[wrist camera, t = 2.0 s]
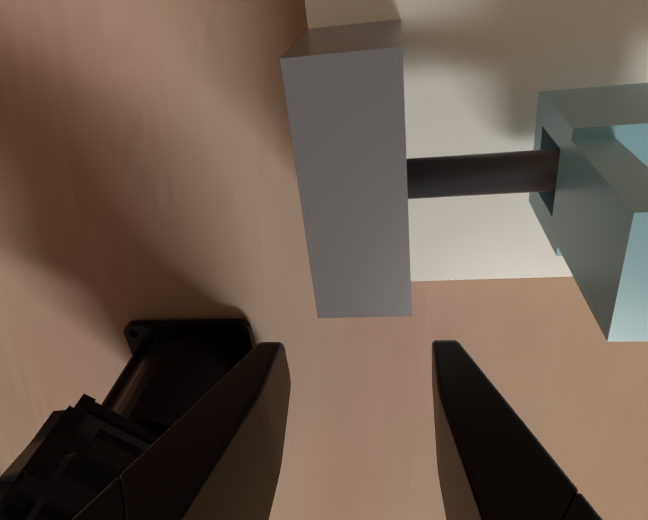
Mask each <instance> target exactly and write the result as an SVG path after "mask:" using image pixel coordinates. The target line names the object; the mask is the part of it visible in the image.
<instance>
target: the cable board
mask: <svg viewBox="0 0 648 520" xmlns="http://www.w3.org/2000/svg"><path fill="white" fill-rule="evenodd" d="M305 7H306V15H307V24H308V30H307V31H306V32H305V33H304V34H303V35H302V36H301V37H300V38H299V39H298V40H297V41H296V42H295V43H294V44H293V45H292V46H291V47H290V48H289V49H288V50H287V51H286V53H285V54H284V55H283V56H282V57H281V58H280V65H281V72H282V78H283V85H284V92H285V99H286V105H287V112H288V119H289V126H290V133H291V139H292V146H293V153H294V160H295V166H296V173H297V180H298V187H299V193H300V200H301V207H302V214H303V220H304V227H305V234H306V241H307V248H308V254H309V261H310V268H311V275H312V281H313V288H314V295H315V302H316V308H317V315H318V318H340V317H390V316H412V306H411V281H435V280H469V279H502V278H536V277H569V276H573V275H572V273H571V271H570V269H569V267H568V266H567V264H566V262H565V260H564V258H563V256H556V254H555V252H554V250H553V248H552V246H551V244H550V242H549V240H548V238H547V236H546V234H545V233H544V231H543V229H542V227H541V225H540V223H539V221H538V219H537V217H536V215H535V213H534V211H533V209H532V207H531V205H530V203H529V192H548V191H555V190H556V182H557V174H558V165H559V157H560V149H546V150H533V148H534V138H535V127H536V116H537V106H538V95H539V92H541V91H553V90H565V89H577V88H589V87H601V86H613V85H625V84H638V83H648V0H305Z"/></svg>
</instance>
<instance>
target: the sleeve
mask: <svg viewBox="0 0 648 520" xmlns="http://www.w3.org/2000/svg"><path fill="white" fill-rule="evenodd" d="M546 149H560V157H559V165H558V174H557V182H556V190H555V191H548V192H529V203H530V205H531V207H532V209H533V211H534V213H535V215H536V217H537V219H538V221H539V223H540V225H541V227H542V229H543V231H544V233H545V234H546V236H547V238H548V240H549V242H550V244H551V246H552V248H553V250H554V252H555V254H556V256H563V258H564V260H565V262H566V264H567V266H568V267H569V269H570V271H571V273H572V275H573V277H574V279H575V281H576V283H577V285H578V287H579V288H580V290H581V292H582V294H583V296H584V298H585V300H586V302H587V304H588V306H589V308H590V309H591V311H592V313H593V315H594V317H595V319H596V321H597V323H598V325H599V327H600V329H601V330H602V332H603V334H604V336H605V338H606V340H607V342H623V341H648V83H638V84H625V85H613V86H601V87H589V88H577V89H565V90H553V91H541V92H539V95H538V106H537V116H536V127H535V138H534V148H533V150H546Z"/></svg>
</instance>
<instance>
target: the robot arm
mask: <svg viewBox="0 0 648 520" xmlns="http://www.w3.org/2000/svg"><path fill="white" fill-rule="evenodd" d="M237 328H241V329H243V331H239V330H238V329H237ZM133 330H135V331H137V332H138V333H137V332H135V331H133ZM124 335H125V337H126V340H127V342H128V345H129V347H130V350H131V353H132V357H131V358H130V360H129V362H128V363H127V365H126V366H125V368H124V369H123V371H122V373H121V374H120V376H119V377H118V379H117V381H116V382H115V384H114V385H113V387H112V389H111V390H110V392H109V393H108V395H107V396H106V398H105V400H104V401H103V403H102V404H101V405H100V404H98V403H96V402H95V400H96V399H94V398H92V397H90V396H88V395H86V394H83V396H82V397H81V398H80V400H79V401H78V403H77V404H76V405H75V407H74V408H73V407H71V406H69V407H68V408H67V409H66V410H61V411H53V412H52V414H51V415H50V417H49V418H48V419H47V421H46V422H45V423H44V425H43V426H42V428H41V429H40V430H39V432H38V433H37V434H36V436H35V437H34V439H33V440H32V441H31V442H30V444H29V445H28V446H27V447H26V448H25V449H24V451H23V452H22V453H21V454H20V455H19V456H18V457H17V458H16V460H15V461H14V462H13V463H12V464H11V465H10V466H9V467H8V469H7V470H6V471H5V472H4V473H3V474H2V475H1V476H0V520H269V516H270V512H271V508H272V503H273V499H274V495H275V491H276V487H277V483H278V478H279V473H280V469H281V462H282V455H283V446H284V438H285V430H286V422H287V413H288V405H289V397H290V386H291V381H290V373H289V368H288V363H287V358H286V353H285V348H284V346H283V344H282V343H280V342H262V343H259V344H258V345H256V346H255V342H254V337H253V333H252V329H251V326H250V324H249V323H248V322H247V321H246V320H243V319H204V320H154V321H131V322H129V323H128V324H127V326H126V327H125V329H124ZM432 387H433V404H434V420H435V436H436V453H437V465H438V474H439V481H440V487H441V492H442V498H443V503H444V508H445V514H446V519H447V520H602V519H601V517H600V516H599V515H598V514H597V512H596V511H595V510H594V509H593V507H592V506H591V505H590V504H589V502H588V501H587V500H586V499H585V497H584V496H583V495H582V494H580V493H578V490H577V488H576V487H575V485H574V484H573V483H572V482H571V481H570V479H569V478H568V477H567V476H566V474H565V473H564V472H563V471H562V469H561V468H560V467H559V466H558V464H557V463H556V462H555V461H554V460H553V458H552V457H551V456H550V455H549V453H548V452H547V451H546V450H545V448H544V447H543V446H542V445H541V443H540V442H539V441H538V440H537V439H536V437H535V436H534V435H533V434H532V432H531V431H530V430H529V429H528V427H527V426H526V425H525V424H524V422H523V421H522V420H521V419H520V418H519V416H518V415H517V414H516V413H515V411H514V410H513V409H512V408H511V406H510V405H509V404H508V403H507V401H506V400H505V399H504V398H503V397H502V395H501V394H500V393H499V392H498V390H497V389H496V388H495V387H494V385H493V384H492V383H491V382H490V380H489V379H488V378H487V377H486V376H485V374H484V373H483V372H482V371H481V369H480V368H479V367H478V366H477V364H476V363H475V362H474V361H473V359H472V358H471V357H470V356H469V355H468V353H467V352H466V351H465V350H464V348H463V347H462V346H461V345H460V343H459V342H457V341H456V340H435V341H434V342H433V343H432Z"/></svg>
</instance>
